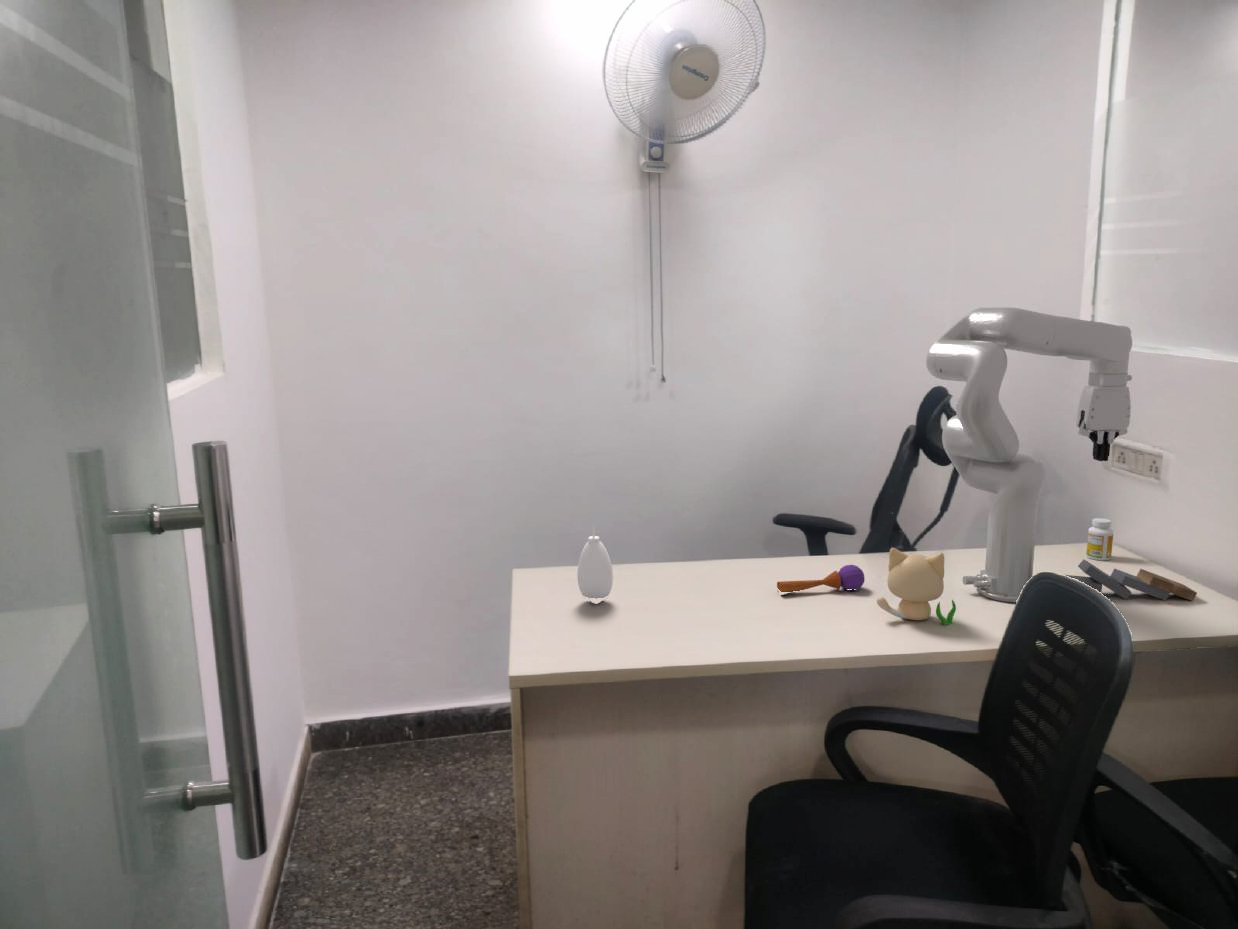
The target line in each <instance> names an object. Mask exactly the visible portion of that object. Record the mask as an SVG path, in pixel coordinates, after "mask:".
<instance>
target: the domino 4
mask: <svg viewBox="0 0 1238 929" xmlns="http://www.w3.org/2000/svg"><path fill="white" fill-rule="evenodd" d="M1135 576H1136V577H1137V578H1139V579H1141V580H1142V581H1144V582H1145V583H1147V584H1148V585H1151V586H1153V587H1156V588H1159V589H1161V590H1164V591H1167V592H1170V594H1173V595H1175V596H1177V597H1181V598H1183V599H1186V600H1188V601H1192V602H1193V601H1194V599H1195V598H1196V596H1197V594H1198V592H1197V591H1195V590H1194V589H1191V588H1190V587H1188V586H1186V585H1185V584H1183V583H1180V582H1178V581H1174V580H1172V579H1169V578H1167V577H1164V576H1161V575H1158V574H1155V573H1153V572H1151V571H1148V570H1146V569H1143V568H1140V569H1139V571H1138V573H1137V574H1136V575H1135Z"/></svg>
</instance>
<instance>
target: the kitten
mask: <svg viewBox="0 0 1238 929" xmlns="http://www.w3.org/2000/svg"><path fill="white" fill-rule="evenodd" d="M888 557H889V559H888V560H889V561H888V575H887V587H888V588H887V589H888V590H889V592H890V593H891V594H892V595H893V596H895V597H897V598H899V599H900V600H899V601H900V602H899V604H898V606H897V607H898V608H897V609H896V608H893V607H891V605H889V603H888V601H887V599H886V598H885V597H882V596H880V597H877V599H876V603H877V605H878V607H879V608H880V609H882V610H883V611H885V612H887V613H888V614H890V615H892V616H895V617H897V618H901V619H907V620H911V621H923V620H924V621H925V620H927V619H929V618H930V617H931V615H932V608H931V604H930V603H929V602H931V601H935V600H937V599H939V598H940V597H941V596H942V595H943V593H944V588H945V585H944V577H945V554H944V553H943V552H938V553H936V554H933V555H930V556H926V555H923V554H917V553H910V554H905V553H904V552H902V551H901V550H898V549H897V548H895V547H891V548H890V550H889V553H888ZM940 604H941V601H939V602H938V603H937V606H936V609H935V615H936V617H937V619H939V620H940V624H941V625H944V626H947V625H952V624H953V619H954V615H955V614H956V611H957V610H956V609H957V605H956V603H955V601H954V600H953V599H951V604H952V607H951V609H950V610H949V612H948V613H947V616H946V617H945V616H944V615H943V613H942V610H941V605H940Z"/></svg>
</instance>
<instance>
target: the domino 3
mask: <svg viewBox="0 0 1238 929" xmlns="http://www.w3.org/2000/svg"><path fill="white" fill-rule="evenodd" d="M1109 576H1110V577H1112V578H1113V579H1115V580H1116V581H1117V582H1119V583H1120V584H1122V585H1124V586H1125V587H1127V588H1130V589H1133V590H1136V591H1139V592H1141V593H1144V594H1147V595H1149V596H1152V597H1154V598H1157V599H1160V600H1163V601H1167V599H1169V596H1170V594H1171V593H1170V592H1167V591H1164V590H1161V589H1159V588H1156V587H1153V586H1151V585H1148V584H1147V583H1145V582H1144V581H1142V580H1141V579H1139V578H1137V577H1136V576H1137V575H1133V574H1130V573H1128V572H1126V571H1122V570H1120V569H1118V568H1114V569H1113V571H1112V573H1111V574H1110V575H1109Z"/></svg>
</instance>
